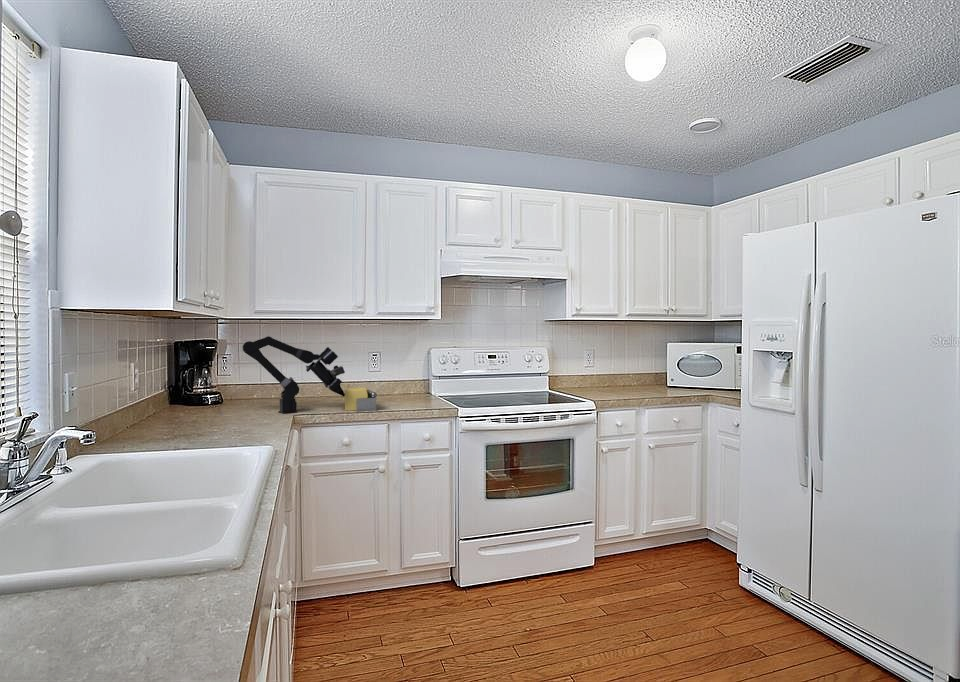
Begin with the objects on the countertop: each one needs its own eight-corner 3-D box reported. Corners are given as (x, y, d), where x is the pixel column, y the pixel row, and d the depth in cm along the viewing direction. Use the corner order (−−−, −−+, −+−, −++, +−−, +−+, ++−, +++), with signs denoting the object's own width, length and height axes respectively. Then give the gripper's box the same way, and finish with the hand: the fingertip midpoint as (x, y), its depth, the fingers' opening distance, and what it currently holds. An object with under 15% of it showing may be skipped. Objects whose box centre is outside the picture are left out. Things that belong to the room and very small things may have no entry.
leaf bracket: (357, 411, 272) (357, 393, 272) (350, 407, 288) (350, 389, 288) (377, 410, 276) (377, 392, 276) (369, 406, 292) (369, 389, 291)
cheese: (345, 408, 285) (345, 387, 284) (368, 407, 286) (368, 387, 286) (344, 411, 274) (344, 389, 274) (367, 410, 276) (367, 389, 276)
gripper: (338, 361, 268) (361, 385, 272) (331, 359, 285) (353, 382, 289) (319, 378, 265) (343, 402, 269) (314, 375, 282) (336, 398, 286)
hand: (344, 395), depth 278 cm, fingers closed, pressing on cheese
